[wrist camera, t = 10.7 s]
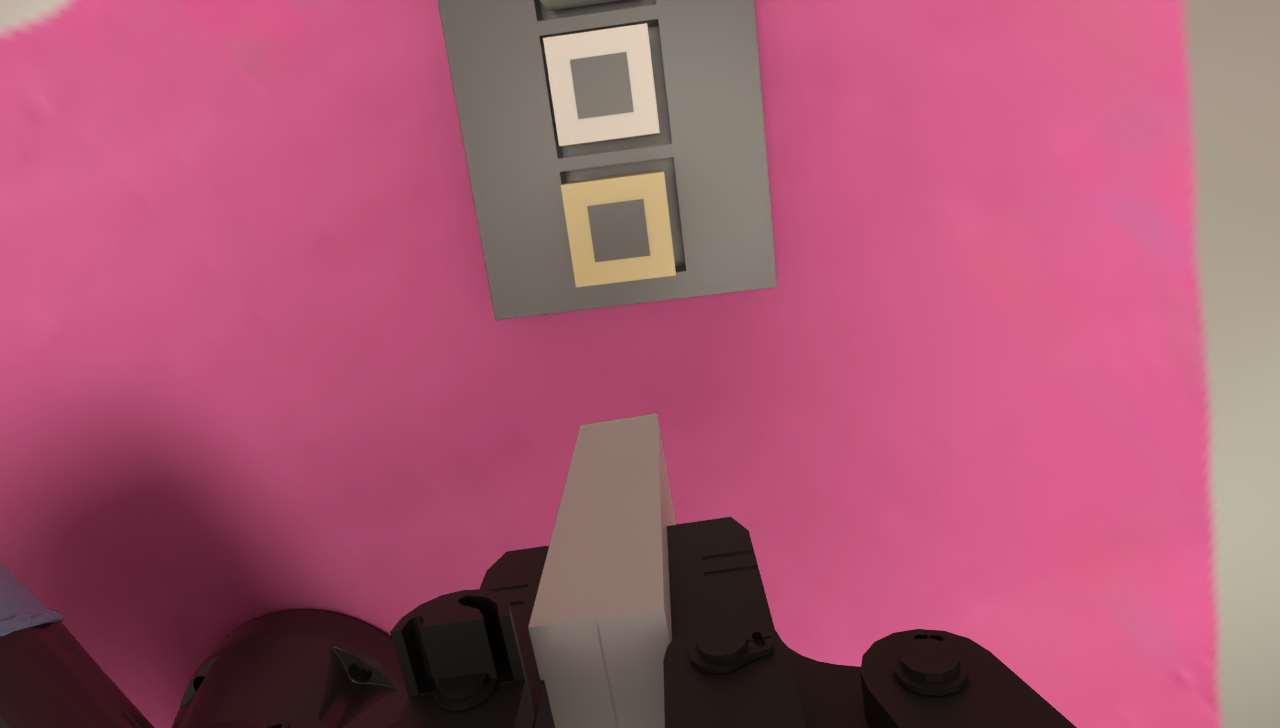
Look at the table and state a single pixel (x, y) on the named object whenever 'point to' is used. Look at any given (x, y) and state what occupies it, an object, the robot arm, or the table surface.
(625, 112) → the key
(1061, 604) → the table surface
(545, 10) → the keypad
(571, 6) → the key
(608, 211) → the key
